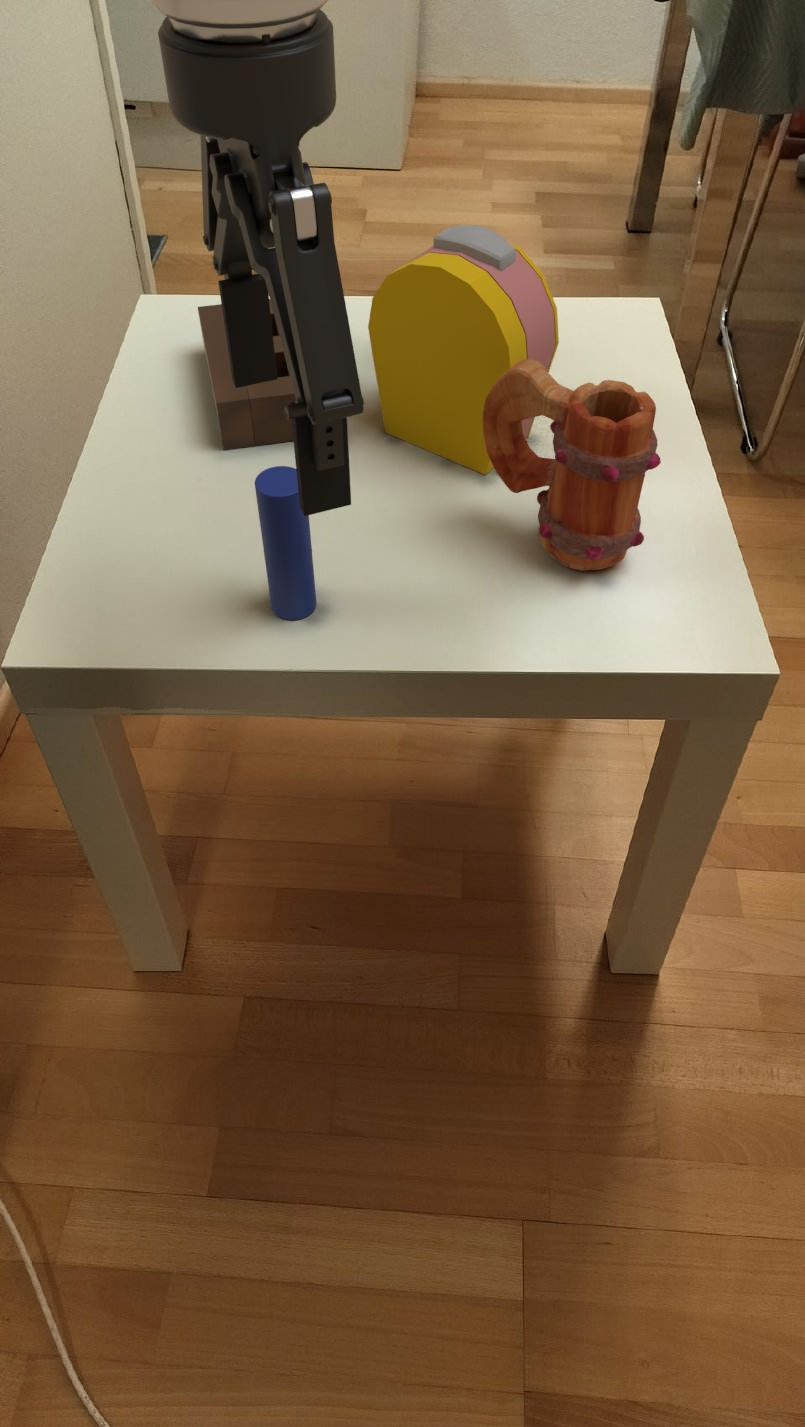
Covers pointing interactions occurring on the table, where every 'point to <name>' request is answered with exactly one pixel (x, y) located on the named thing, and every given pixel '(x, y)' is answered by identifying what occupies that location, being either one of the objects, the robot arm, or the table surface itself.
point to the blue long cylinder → (286, 543)
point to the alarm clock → (457, 338)
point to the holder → (245, 390)
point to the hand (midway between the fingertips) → (288, 439)
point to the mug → (575, 460)
